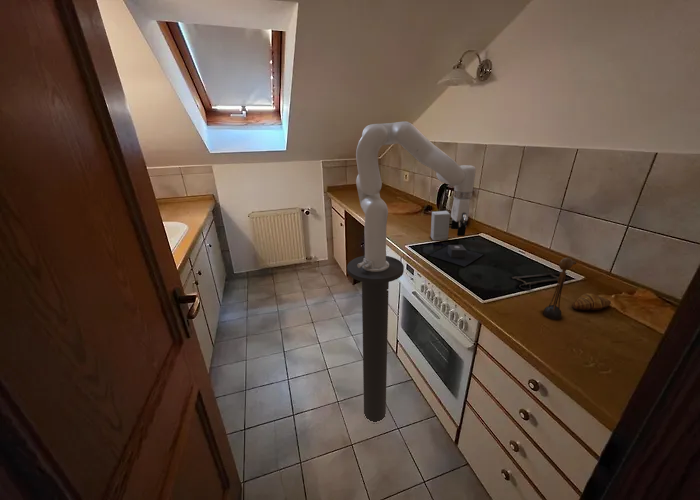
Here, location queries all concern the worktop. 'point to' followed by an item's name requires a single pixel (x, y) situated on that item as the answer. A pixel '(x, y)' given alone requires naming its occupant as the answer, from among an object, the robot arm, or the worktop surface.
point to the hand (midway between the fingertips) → (457, 232)
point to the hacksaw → (538, 281)
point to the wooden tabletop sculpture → (558, 290)
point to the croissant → (590, 302)
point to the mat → (462, 262)
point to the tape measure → (456, 251)
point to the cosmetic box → (440, 225)
